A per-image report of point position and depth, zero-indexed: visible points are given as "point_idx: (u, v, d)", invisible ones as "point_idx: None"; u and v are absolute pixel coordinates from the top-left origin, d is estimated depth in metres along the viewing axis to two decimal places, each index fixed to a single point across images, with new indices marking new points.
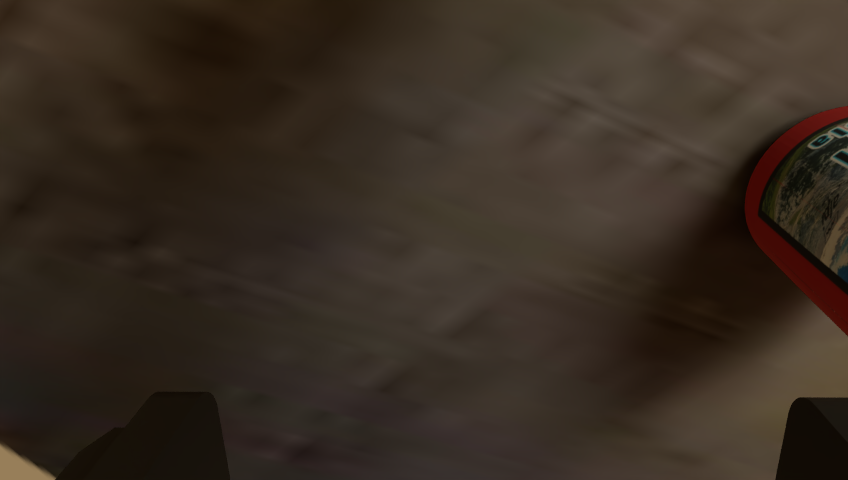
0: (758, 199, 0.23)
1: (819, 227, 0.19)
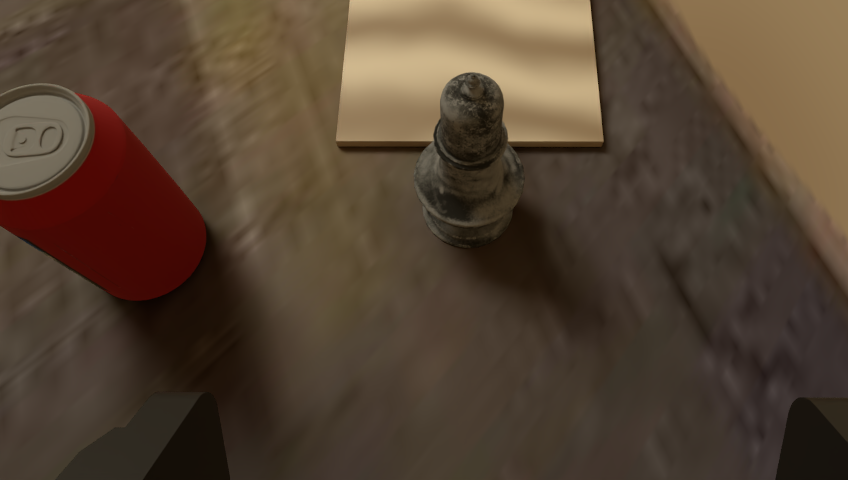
0: None
1: None
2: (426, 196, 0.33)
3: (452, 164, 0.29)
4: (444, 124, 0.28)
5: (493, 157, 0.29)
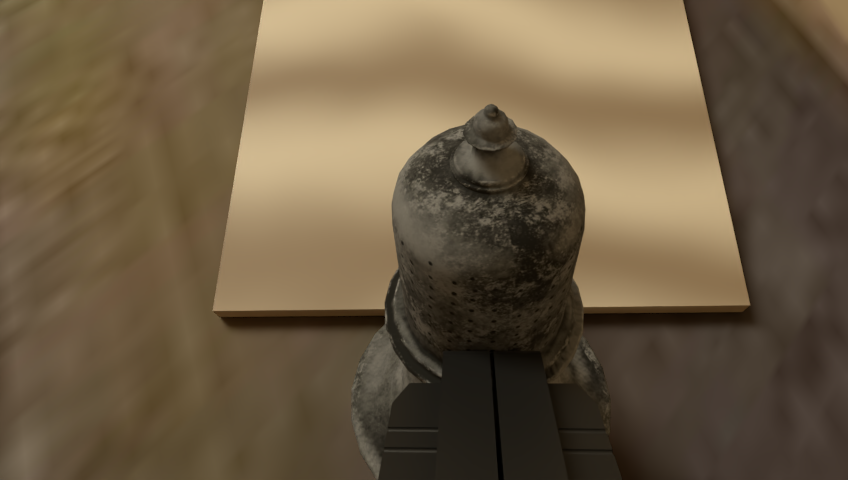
0: None
1: None
2: (377, 448, 0.14)
3: None
4: (407, 273, 0.09)
5: (551, 363, 0.10)
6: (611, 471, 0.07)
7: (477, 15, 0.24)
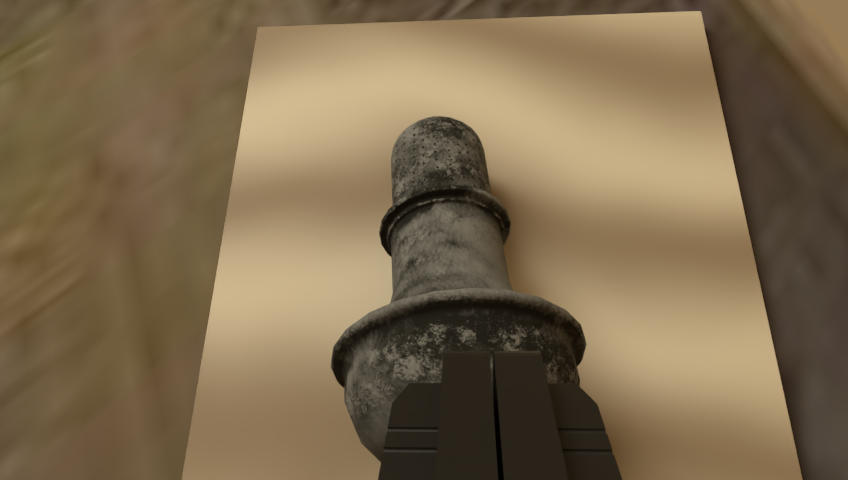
0: None
1: None
2: None
3: (404, 198, 0.16)
4: (394, 161, 0.18)
5: (480, 191, 0.16)
6: (611, 471, 0.07)
7: (487, 119, 0.21)
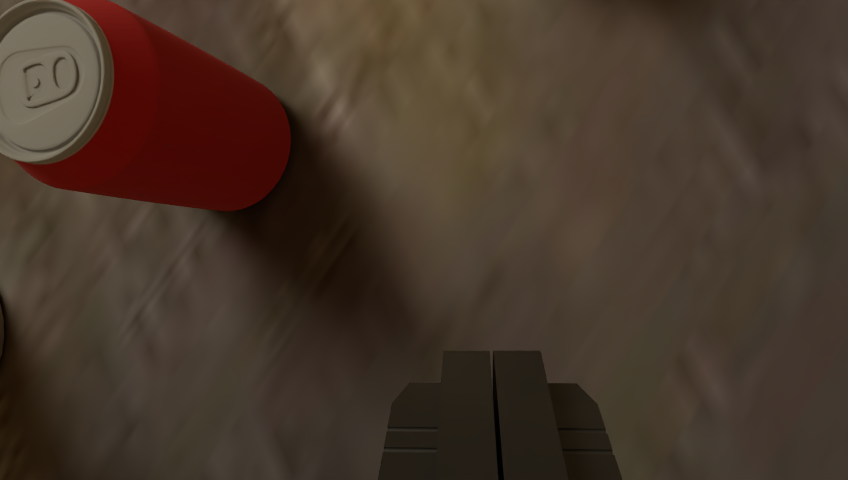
0: None
1: None
2: None
3: None
4: None
5: None
6: (611, 471, 0.07)
7: None
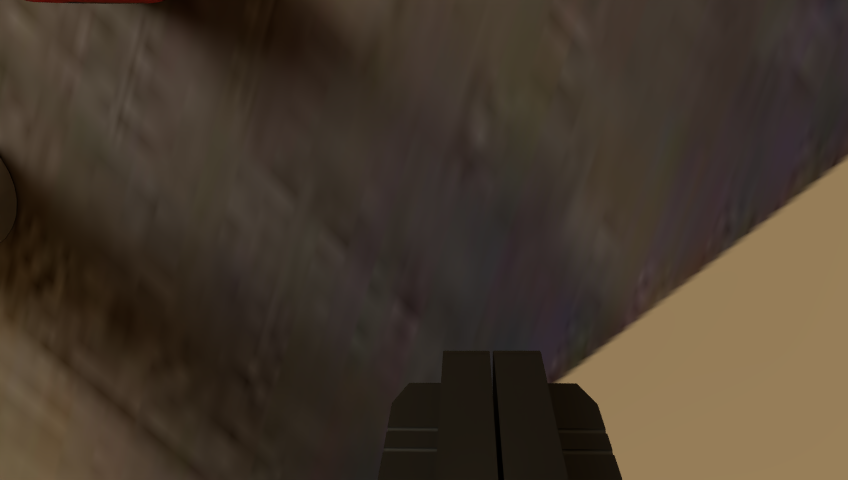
0: None
1: None
2: None
3: None
4: None
5: None
6: (611, 471, 0.07)
7: None
